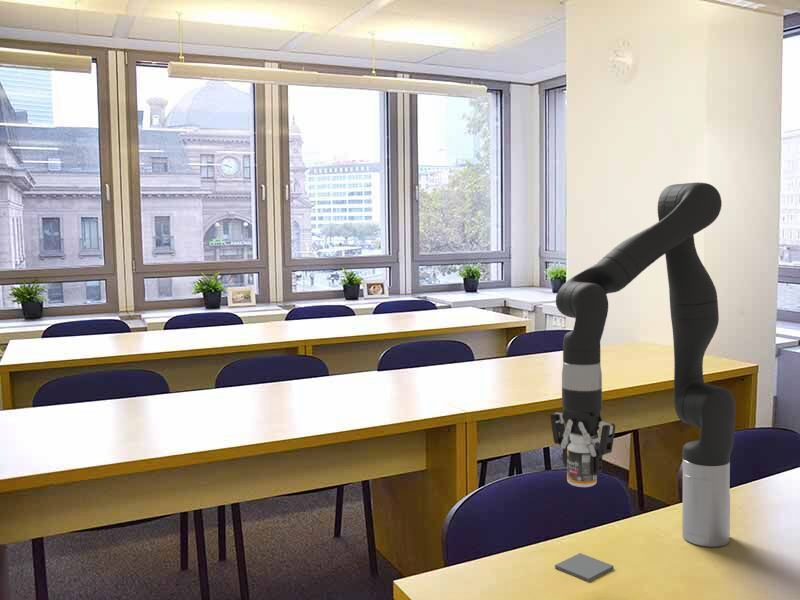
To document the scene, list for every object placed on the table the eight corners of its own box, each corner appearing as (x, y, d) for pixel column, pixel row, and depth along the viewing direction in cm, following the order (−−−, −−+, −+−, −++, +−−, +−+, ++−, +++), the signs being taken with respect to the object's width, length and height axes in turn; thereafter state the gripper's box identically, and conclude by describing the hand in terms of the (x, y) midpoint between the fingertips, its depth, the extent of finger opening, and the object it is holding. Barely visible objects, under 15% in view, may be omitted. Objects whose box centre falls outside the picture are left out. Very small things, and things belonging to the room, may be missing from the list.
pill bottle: (561, 481, 147) (560, 431, 146) (585, 476, 149) (584, 428, 148) (578, 489, 141) (578, 438, 140) (603, 485, 144) (603, 434, 143)
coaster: (579, 555, 152) (579, 552, 152) (613, 568, 146) (613, 565, 146) (555, 567, 147) (554, 565, 147) (588, 581, 141) (588, 578, 141)
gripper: (625, 387, 140) (625, 475, 142) (564, 377, 151) (564, 458, 153) (601, 393, 135) (601, 483, 137) (540, 382, 147) (540, 466, 148)
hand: (582, 470), depth 145 cm, fingers closed on pill bottle, 5 cm apart
